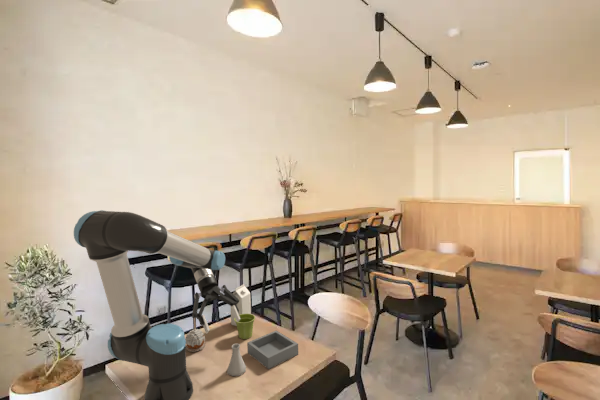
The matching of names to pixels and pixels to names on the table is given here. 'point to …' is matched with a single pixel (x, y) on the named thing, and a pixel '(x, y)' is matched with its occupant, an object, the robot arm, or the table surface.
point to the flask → (236, 362)
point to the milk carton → (242, 302)
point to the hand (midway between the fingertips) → (223, 326)
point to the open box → (272, 349)
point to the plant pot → (245, 325)
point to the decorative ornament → (195, 339)
